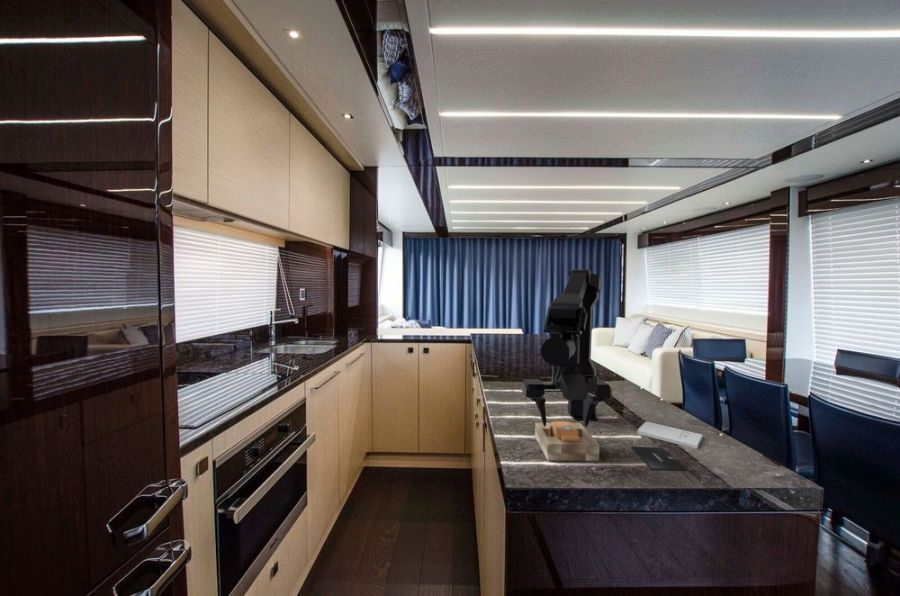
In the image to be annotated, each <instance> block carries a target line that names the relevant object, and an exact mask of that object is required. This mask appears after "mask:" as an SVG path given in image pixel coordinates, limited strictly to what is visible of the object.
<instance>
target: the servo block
mask: <svg viewBox="0 0 900 596" xmlns="http://www.w3.org/2000/svg"><path fill="white" fill-rule="evenodd" d="M551 423H552V426H553V434H552V437H557V439H562V440H563V441H580V437H579V436H578V431H577V430H576V429H575V427H574V426H573V425H572V424H571V423H572V422H570V421H551Z"/></svg>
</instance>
